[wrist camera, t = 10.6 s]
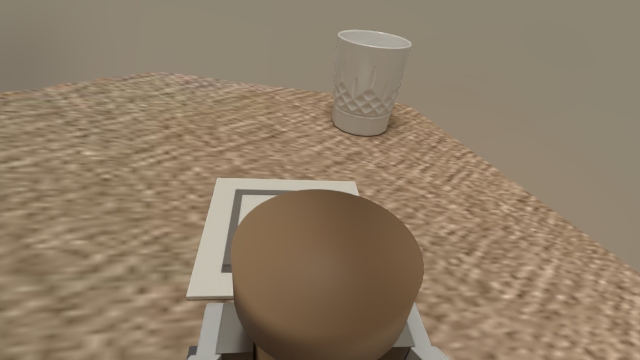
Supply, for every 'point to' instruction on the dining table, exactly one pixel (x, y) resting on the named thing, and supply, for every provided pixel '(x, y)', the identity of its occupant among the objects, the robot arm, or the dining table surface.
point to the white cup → (367, 80)
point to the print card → (222, 221)
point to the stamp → (323, 276)
